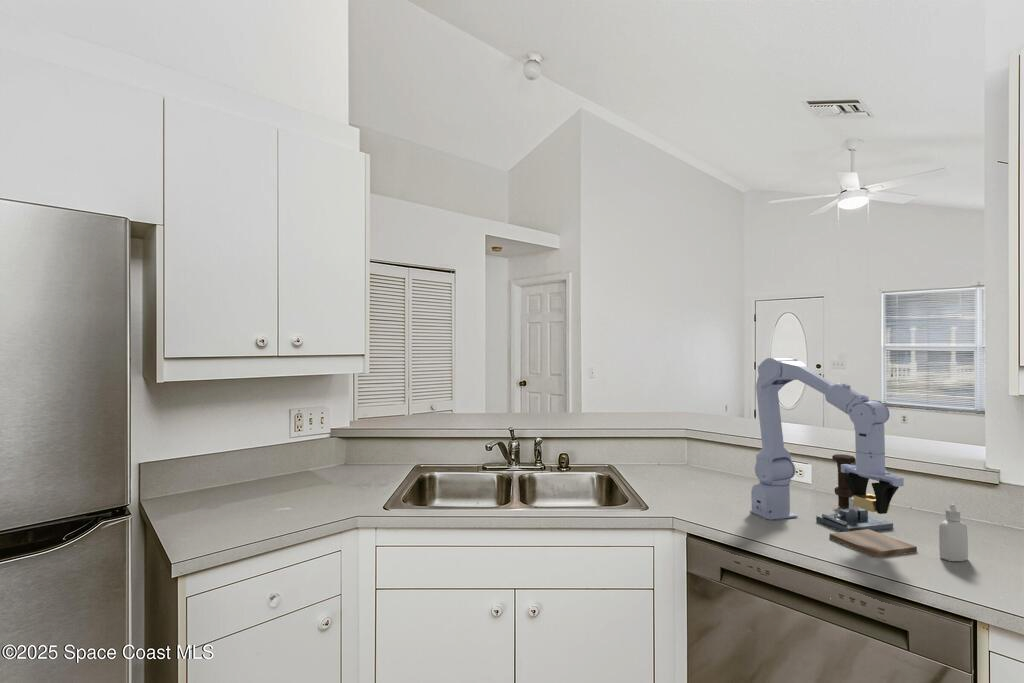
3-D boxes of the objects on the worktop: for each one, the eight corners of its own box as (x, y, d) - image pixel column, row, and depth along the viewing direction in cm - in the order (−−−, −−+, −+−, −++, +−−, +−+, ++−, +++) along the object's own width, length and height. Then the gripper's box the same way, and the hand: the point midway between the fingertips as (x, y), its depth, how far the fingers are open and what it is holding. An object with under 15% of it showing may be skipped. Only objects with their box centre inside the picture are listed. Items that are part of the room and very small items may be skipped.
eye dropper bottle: (933, 553, 117) (932, 500, 117) (963, 556, 115) (962, 502, 115) (943, 561, 112) (942, 506, 113) (975, 564, 111) (973, 508, 111)
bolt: (858, 510, 148) (857, 458, 148) (839, 509, 149) (838, 457, 149) (849, 504, 153) (848, 454, 153) (831, 503, 154) (830, 453, 154)
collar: (872, 512, 119) (872, 501, 119) (853, 505, 124) (853, 495, 124) (889, 510, 120) (889, 499, 120) (870, 504, 125) (869, 493, 125)
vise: (849, 534, 129) (848, 506, 129) (816, 521, 139) (815, 495, 139) (893, 529, 132) (892, 501, 133) (858, 517, 142) (857, 491, 142)
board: (875, 557, 115) (875, 552, 115) (829, 538, 126) (829, 533, 126) (916, 552, 118) (916, 546, 118) (868, 533, 129) (868, 529, 129)
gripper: (913, 457, 116) (915, 517, 116) (856, 445, 130) (857, 499, 130) (889, 459, 115) (890, 520, 114) (833, 447, 129) (834, 501, 128)
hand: (871, 509), depth 122 cm, fingers closed on collar, 5 cm apart
